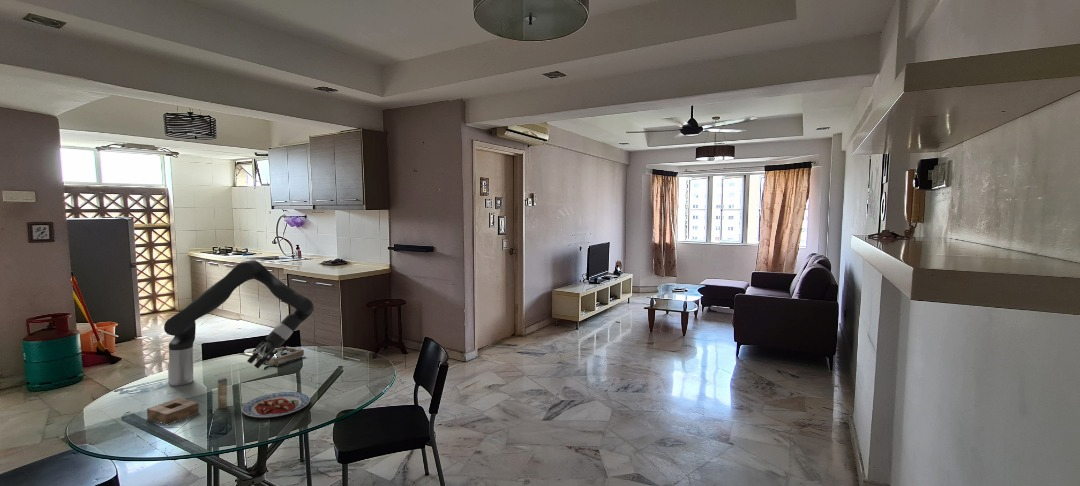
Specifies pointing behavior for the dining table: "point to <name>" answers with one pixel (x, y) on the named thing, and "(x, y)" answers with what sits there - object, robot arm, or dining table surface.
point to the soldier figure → (279, 353)
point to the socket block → (172, 410)
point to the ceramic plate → (275, 404)
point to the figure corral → (284, 358)
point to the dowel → (222, 393)
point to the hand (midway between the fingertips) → (252, 364)
